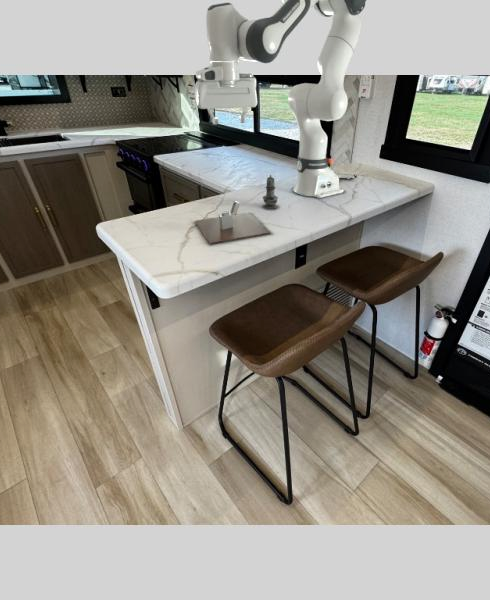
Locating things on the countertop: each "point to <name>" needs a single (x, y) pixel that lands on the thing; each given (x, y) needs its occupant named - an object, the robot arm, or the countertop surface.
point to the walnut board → (232, 229)
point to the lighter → (228, 216)
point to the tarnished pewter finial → (270, 195)
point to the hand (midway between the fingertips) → (229, 123)
